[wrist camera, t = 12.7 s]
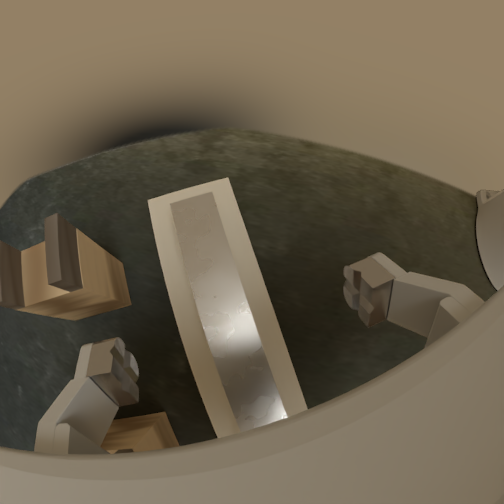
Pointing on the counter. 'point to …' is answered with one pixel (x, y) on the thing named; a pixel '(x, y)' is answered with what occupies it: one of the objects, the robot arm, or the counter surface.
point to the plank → (189, 314)
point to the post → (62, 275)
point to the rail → (226, 313)
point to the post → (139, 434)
